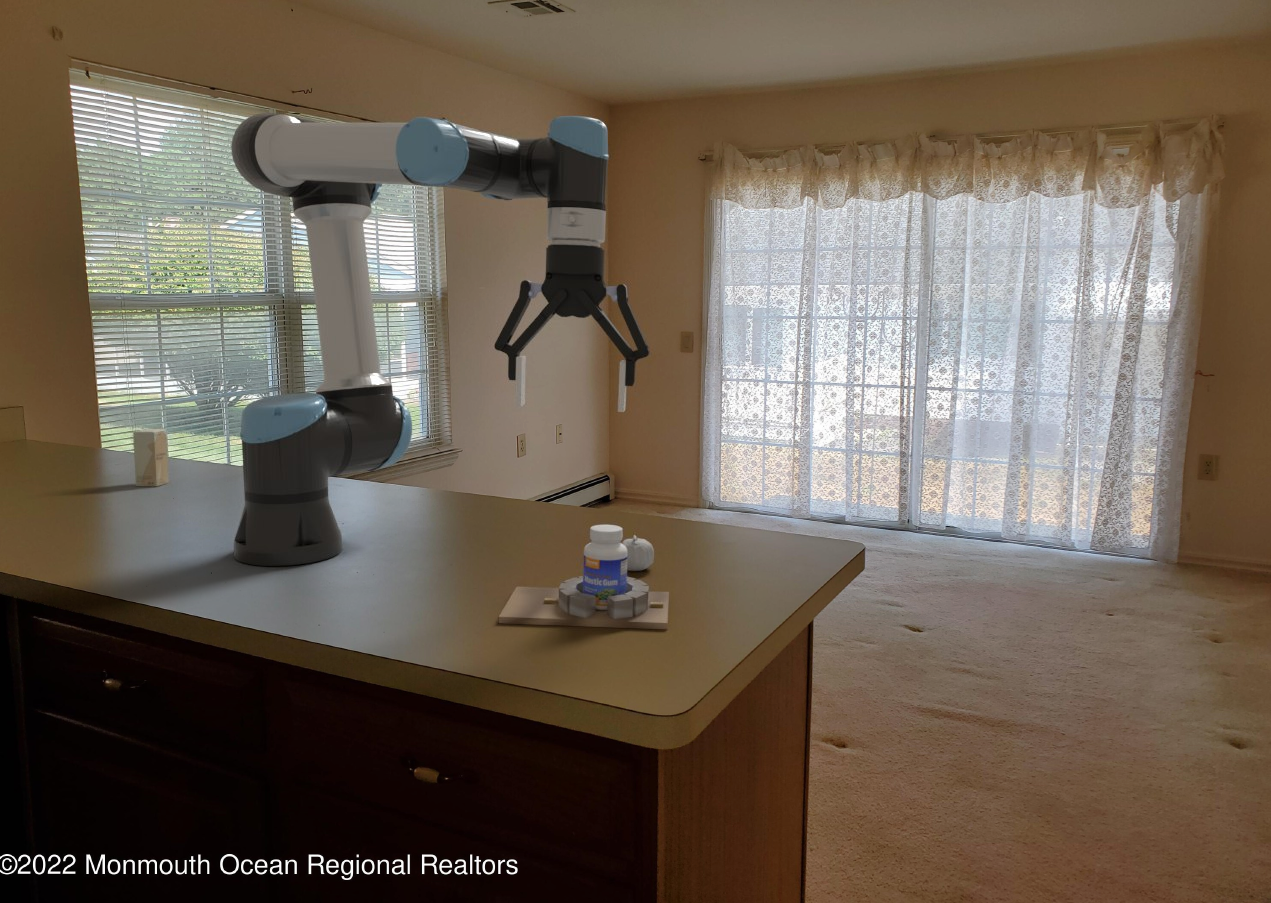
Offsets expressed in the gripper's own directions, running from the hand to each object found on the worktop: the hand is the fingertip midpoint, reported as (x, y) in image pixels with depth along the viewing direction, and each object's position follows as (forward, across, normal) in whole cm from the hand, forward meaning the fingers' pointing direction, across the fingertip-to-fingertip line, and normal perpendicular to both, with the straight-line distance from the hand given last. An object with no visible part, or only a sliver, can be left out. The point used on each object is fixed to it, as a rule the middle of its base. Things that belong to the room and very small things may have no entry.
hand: (570, 408), depth 122 cm
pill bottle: (+23, +7, -11) cm, 27 cm away
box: (+27, -92, +54) cm, 110 cm away
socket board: (+24, +4, -11) cm, 27 cm away
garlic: (+24, +9, +8) cm, 27 cm away
